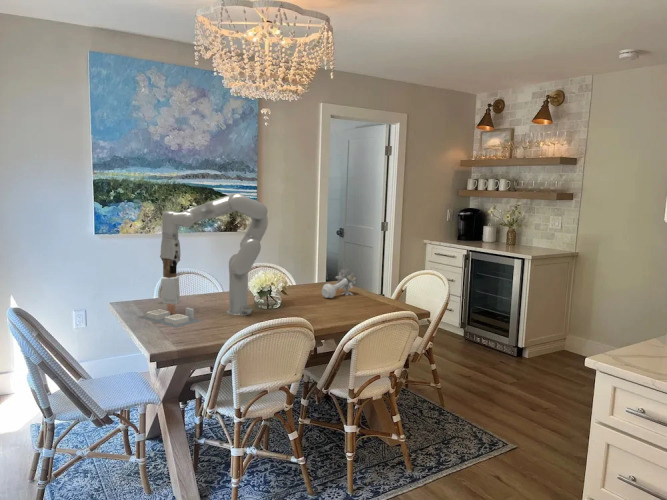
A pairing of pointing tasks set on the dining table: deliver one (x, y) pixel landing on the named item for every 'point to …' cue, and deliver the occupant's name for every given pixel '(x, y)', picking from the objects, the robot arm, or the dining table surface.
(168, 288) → the skincare box
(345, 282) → the flower vase
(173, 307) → the terracotta tag
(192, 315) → the pale grey tag
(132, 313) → the dining table surface
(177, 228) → the robot arm
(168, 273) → the walnut plug
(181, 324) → the tag board
